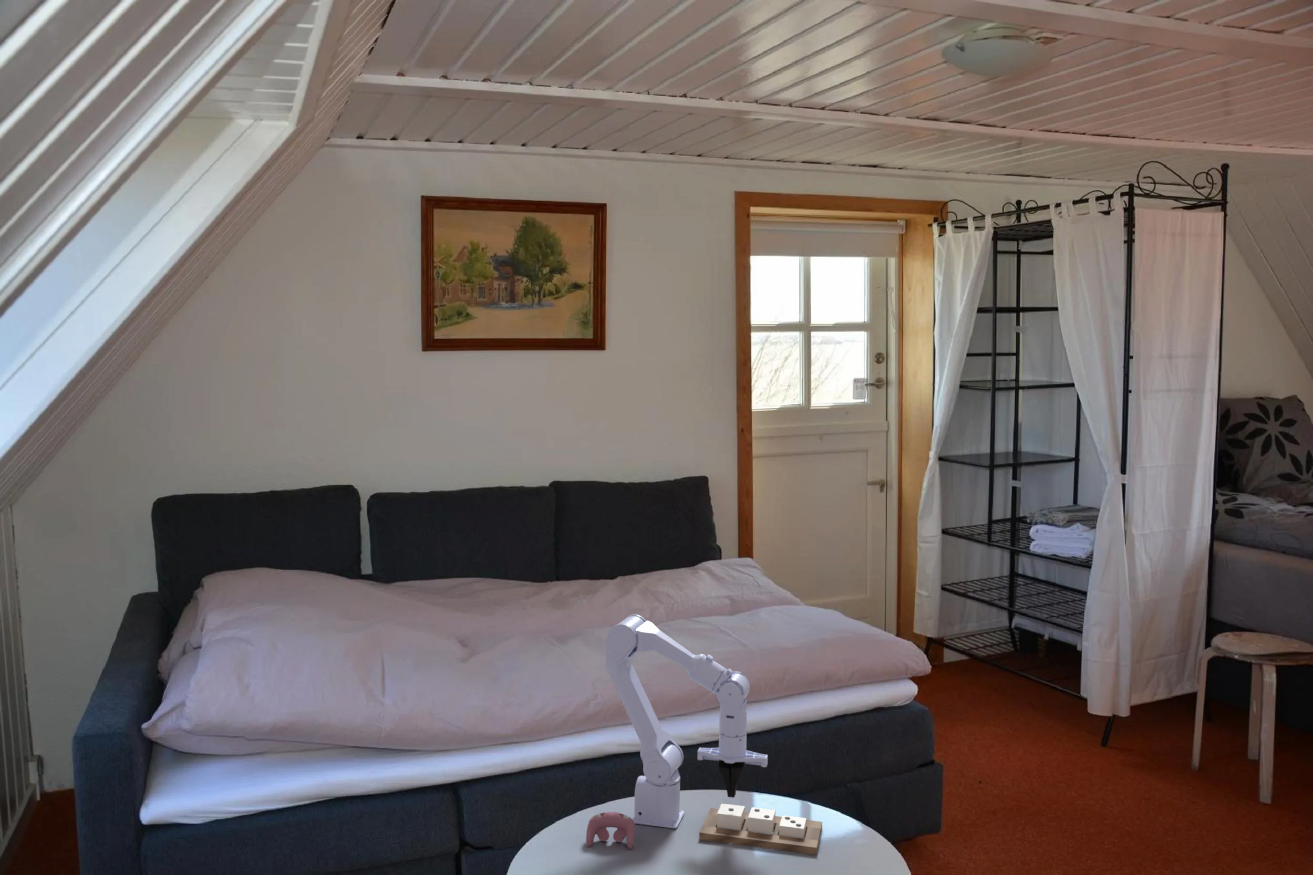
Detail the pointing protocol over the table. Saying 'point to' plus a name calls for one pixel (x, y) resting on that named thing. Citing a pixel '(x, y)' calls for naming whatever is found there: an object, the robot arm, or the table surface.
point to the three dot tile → (792, 827)
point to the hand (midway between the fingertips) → (731, 795)
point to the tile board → (762, 835)
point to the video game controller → (611, 820)
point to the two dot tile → (761, 820)
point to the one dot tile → (730, 816)
